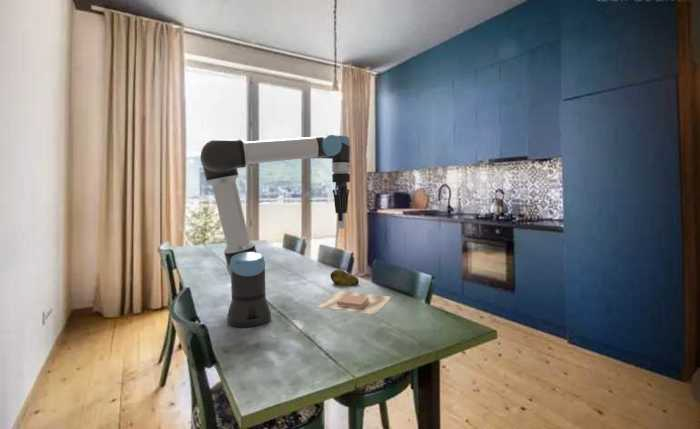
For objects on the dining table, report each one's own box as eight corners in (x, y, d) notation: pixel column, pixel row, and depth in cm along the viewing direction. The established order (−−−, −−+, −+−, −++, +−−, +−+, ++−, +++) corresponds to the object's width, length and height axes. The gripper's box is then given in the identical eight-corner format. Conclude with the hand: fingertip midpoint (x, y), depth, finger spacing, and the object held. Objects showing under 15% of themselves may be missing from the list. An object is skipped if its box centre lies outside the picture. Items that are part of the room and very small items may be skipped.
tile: (345, 298, 147) (336, 305, 139) (345, 294, 147) (336, 301, 138) (368, 301, 143) (361, 308, 135) (368, 297, 143) (361, 304, 135)
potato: (352, 291, 162) (352, 273, 162) (328, 287, 168) (327, 270, 167) (360, 286, 170) (360, 269, 169) (336, 283, 176) (336, 267, 175)
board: (315, 310, 138) (315, 306, 137) (338, 294, 158) (338, 290, 158) (375, 318, 129) (375, 314, 129) (391, 300, 149) (391, 296, 149)
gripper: (343, 172, 144) (343, 230, 146) (354, 173, 157) (355, 227, 158) (326, 172, 147) (327, 229, 149) (339, 173, 159) (339, 226, 161)
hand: (341, 228), depth 154 cm, fingers closed
